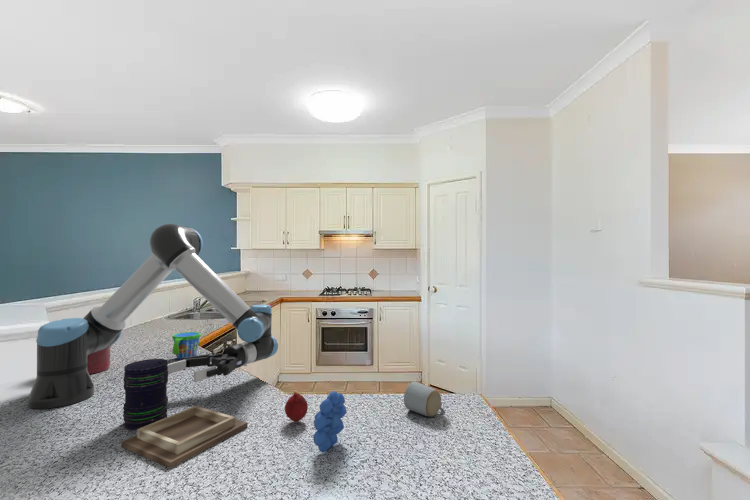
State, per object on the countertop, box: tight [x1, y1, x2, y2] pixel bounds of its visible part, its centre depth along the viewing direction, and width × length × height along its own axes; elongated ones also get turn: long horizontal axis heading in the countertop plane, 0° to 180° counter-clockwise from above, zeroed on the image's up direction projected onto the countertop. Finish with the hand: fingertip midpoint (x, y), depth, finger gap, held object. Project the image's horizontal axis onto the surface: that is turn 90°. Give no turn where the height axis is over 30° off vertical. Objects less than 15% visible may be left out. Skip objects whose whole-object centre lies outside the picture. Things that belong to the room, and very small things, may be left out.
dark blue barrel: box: [122, 358, 169, 431], centre depth 94 cm, size 10×10×15 cm
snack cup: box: [171, 331, 202, 361], centre depth 154 cm, size 16×10×10 cm
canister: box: [87, 345, 112, 375], centre depth 137 cm, size 13×13×18 cm
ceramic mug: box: [403, 381, 443, 418], centre depth 100 cm, size 11×8×8 cm
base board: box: [120, 405, 249, 469], centre depth 86 cm, size 18×20×3 cm
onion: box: [284, 390, 309, 423], centre depth 94 cm, size 6×6×8 cm
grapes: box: [312, 390, 348, 453], centre depth 82 cm, size 12×7×12 cm, turn 154°
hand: (179, 373), depth 102 cm, fingers open, 13 cm apart
